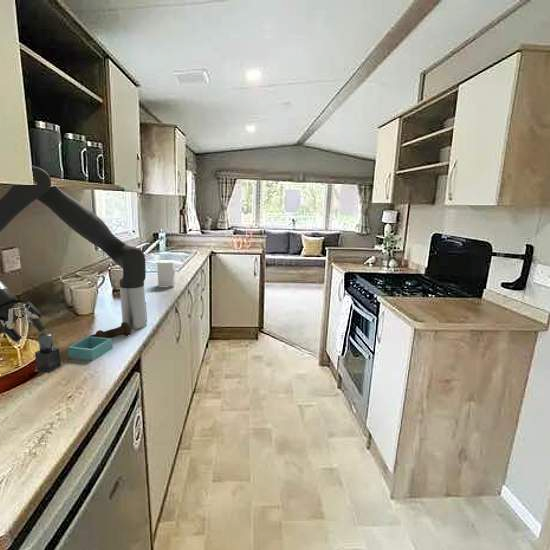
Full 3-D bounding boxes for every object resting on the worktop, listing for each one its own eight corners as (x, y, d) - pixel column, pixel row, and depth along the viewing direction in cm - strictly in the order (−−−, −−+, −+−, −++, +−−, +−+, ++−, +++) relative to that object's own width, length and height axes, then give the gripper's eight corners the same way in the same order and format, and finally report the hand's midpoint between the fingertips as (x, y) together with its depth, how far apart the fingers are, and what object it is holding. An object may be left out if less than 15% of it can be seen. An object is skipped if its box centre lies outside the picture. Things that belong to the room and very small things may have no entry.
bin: (90, 349, 130) (89, 336, 129) (113, 352, 128) (111, 338, 127) (69, 361, 120) (67, 347, 119) (93, 364, 118) (92, 350, 117)
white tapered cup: (173, 287, 218) (172, 262, 215) (158, 287, 217) (156, 262, 213) (175, 283, 227) (174, 259, 224) (160, 284, 225) (159, 260, 222)
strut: (48, 362, 116) (44, 331, 114) (60, 364, 115) (57, 333, 113) (36, 368, 112) (32, 336, 110) (49, 370, 111) (45, 338, 109)
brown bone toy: (88, 349, 134) (127, 337, 145) (92, 346, 131) (132, 334, 142) (83, 334, 135) (123, 323, 146) (87, 331, 132) (127, 320, 142)
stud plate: (48, 364, 118) (46, 349, 117) (67, 367, 116) (66, 351, 115) (30, 375, 111) (28, 358, 110) (50, 377, 110) (48, 361, 109)
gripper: (-22, 293, 104) (17, 335, 104) (21, 282, 118) (56, 319, 118) (-34, 310, 107) (4, 351, 107) (10, 297, 120) (44, 334, 120)
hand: (31, 334), depth 112 cm, fingers open, 8 cm apart
